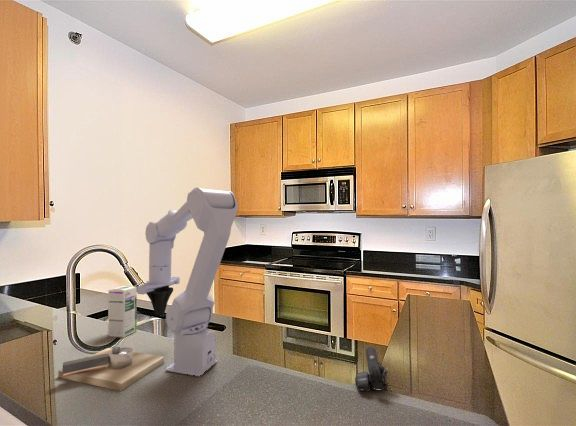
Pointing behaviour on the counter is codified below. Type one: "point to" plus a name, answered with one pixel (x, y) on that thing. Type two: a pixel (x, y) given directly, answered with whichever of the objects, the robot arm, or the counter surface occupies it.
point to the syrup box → (122, 311)
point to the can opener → (372, 373)
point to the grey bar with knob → (102, 360)
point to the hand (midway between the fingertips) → (159, 314)
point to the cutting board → (115, 371)
